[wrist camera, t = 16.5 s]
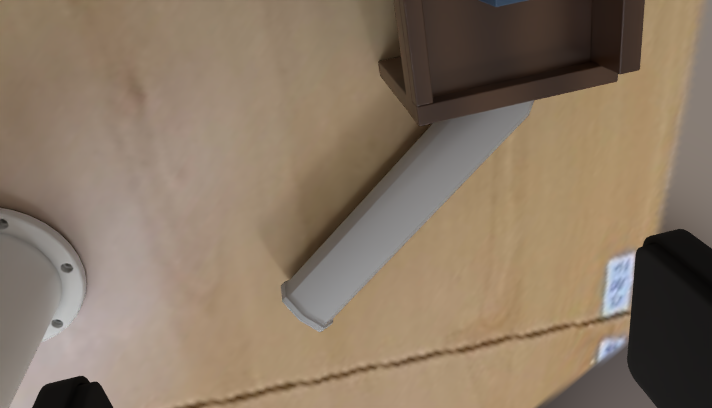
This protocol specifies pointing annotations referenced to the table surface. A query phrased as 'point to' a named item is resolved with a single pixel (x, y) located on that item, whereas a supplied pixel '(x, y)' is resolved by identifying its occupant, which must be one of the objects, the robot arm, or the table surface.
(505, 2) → the stick
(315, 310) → the tube
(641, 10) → the shelf rack
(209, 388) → the table surface
